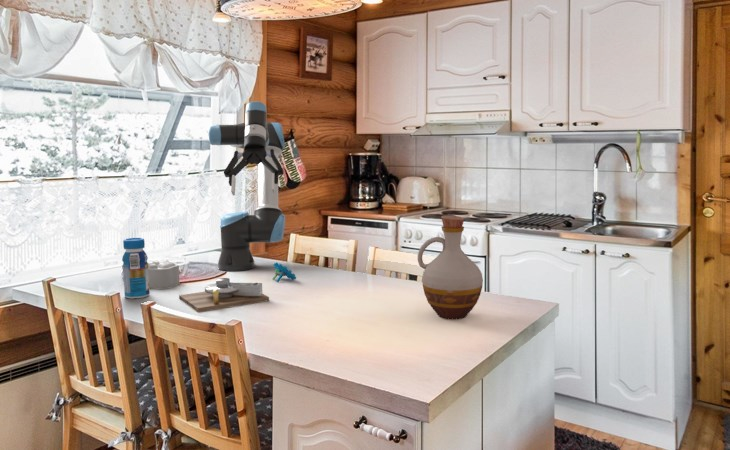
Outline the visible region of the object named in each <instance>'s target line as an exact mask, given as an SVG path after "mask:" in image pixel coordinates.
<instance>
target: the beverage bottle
mask: <svg viewBox="0 0 730 450" xmlns="http://www.w3.org/2000/svg"><path fill="white" fill-rule="evenodd" d="M122 242H123V250H125V251H124V252H123V255H122V260H121V261H122V266H121V267H122V276H123V278H122V279H123V287H124V290H123V291H124V298H127V299H132V300H133V299H134V298H137V299H144V298H146V297H148V296H150V293H151V290H150V288H149V274H148V267H149V265H148V263H149V262H148V255H147V253H146V252H145V250H144V249H145V245H146V244H145V243H146V242H145V239H144V237H131V238H130V237H128V238H125V239H123V241H122ZM134 300H135V299H134Z"/></svg>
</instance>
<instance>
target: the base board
mask: <svg viewBox="0 0 730 450" xmlns="http://www.w3.org/2000/svg"><path fill="white" fill-rule="evenodd" d="M178 296H179V297H178V299H179V300H180V301H182V302H183V303H184V304H185V305H188V306H189V307H190V308H191V309H193V310H194V311H196V312H197V313H200V312H207V311H212V310H217V309H224V308H231V307H236V306H238V307H239V306H242V305H248V304H255V303H256V304H257V303H261V302H268V301H270V297H269V296H268V295H265V294H264V293H262V294H261V295H260V296H255V295H234V294H233V293H230V294H219V304H217V305H215V304H214V298H213V294H209V293H206V292H205V291H198V292H193V293H192V292H191V293H185V294H178Z"/></svg>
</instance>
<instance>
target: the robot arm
mask: <svg viewBox="0 0 730 450" xmlns="http://www.w3.org/2000/svg"><path fill="white" fill-rule="evenodd" d="M244 113H245V116H244V117H245V119H244V122H243V123H242V122H241V123H237V124H211V125H209V126H208V130H207V136H208V142H209V144H210V145H211V146H230V147H232V148H239V149H243V151H242V152H238V150H234V152H233V157H232V158H231V160H230V161H229V163H228V165H227V166H226V167H225V169H224V170H223V174H224V175H223V176H224V177H225V178H228V185H229V187H231V188H230V190H231V191H230V192H231V195H232V196H236V187H237V186H236V182H237V179H236V176H237V175H238V174H239V173H240V172H241V171H242V170H244V168H245V167H247V166H248V165H258V166H257V168H258V169H257V172H258V174H257V175H258V176H257V179H258V180H257V181H258V183H257V207H256V208H255V209H254V211H253V214H250V213H249V212H248V211H236V212H233V213H232V212H231V213H227V214H224V215H222V216H221V217H220V226H219V227H220V241H221V243H220V245H221V251H220V255H219V259H218V260H217V261H218V262H217V269H218V268H219V269H221V270H220V271H224V270H226V272H238V271H239V272H240V271H246V270H251V269H253V268H255V265H256V264H255V260H254V257H253V254H252V250H251V248H250V244H251V243H253V244H254V243H261V244H262V243H269V244H270V243H271V244H272V243H279V242H281V241H282V240H283V239H284V235H285V229H286V215H285V214H284V213H283V211H282V209H281V208H280V207H279V176H280V175H284V174H285V173H284V169H283V167H282V165H281V164H280V162H279V156H280V155H282V150H284V149H286V146H285V144H286V143H285V138H284V137H285V136H284V130H283V125H282V124H281V123H280V122H272V121H270V122H268V120H267V119H268V118H267V117H268V116H267V114H268V112H267V105H266V104H265V103H264V102H261V101H254V100H253V101H250V102H248V103H247V104H246V106H245V112H244ZM239 160H240V162H239ZM219 269H218V270H219Z"/></svg>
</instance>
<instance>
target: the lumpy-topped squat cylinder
mask: <svg viewBox="0 0 730 450" xmlns="http://www.w3.org/2000/svg"><path fill="white" fill-rule="evenodd" d="M147 263H148V265H149V267H148V274H149V289H159V290H161V289H162V290H163V289H164V290H165V289H170V288H173V287H176V286H179V285H180V266H179V264H178V263H174V262H172V261H170V260H167V259H166V260H162V261H161V262H159V261H158V260H155V261H150V262H147Z"/></svg>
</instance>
